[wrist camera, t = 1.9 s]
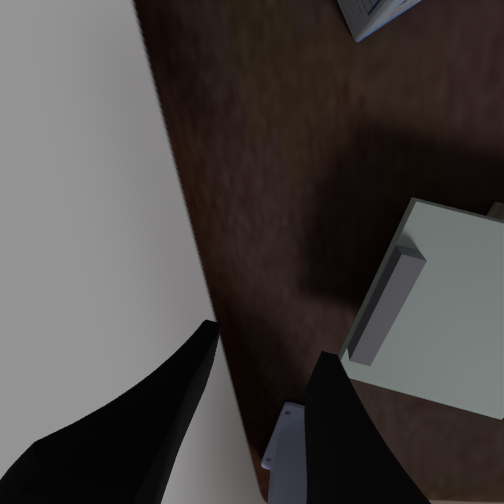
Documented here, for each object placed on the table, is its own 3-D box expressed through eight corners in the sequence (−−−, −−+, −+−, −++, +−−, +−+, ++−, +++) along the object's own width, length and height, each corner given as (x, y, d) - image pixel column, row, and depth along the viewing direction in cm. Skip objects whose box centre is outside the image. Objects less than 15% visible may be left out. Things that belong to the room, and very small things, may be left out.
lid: (495, 410, 21) (511, 436, 19) (333, 365, 21) (336, 388, 19) (631, 252, 15) (669, 271, 14) (412, 197, 16) (424, 208, 14)
